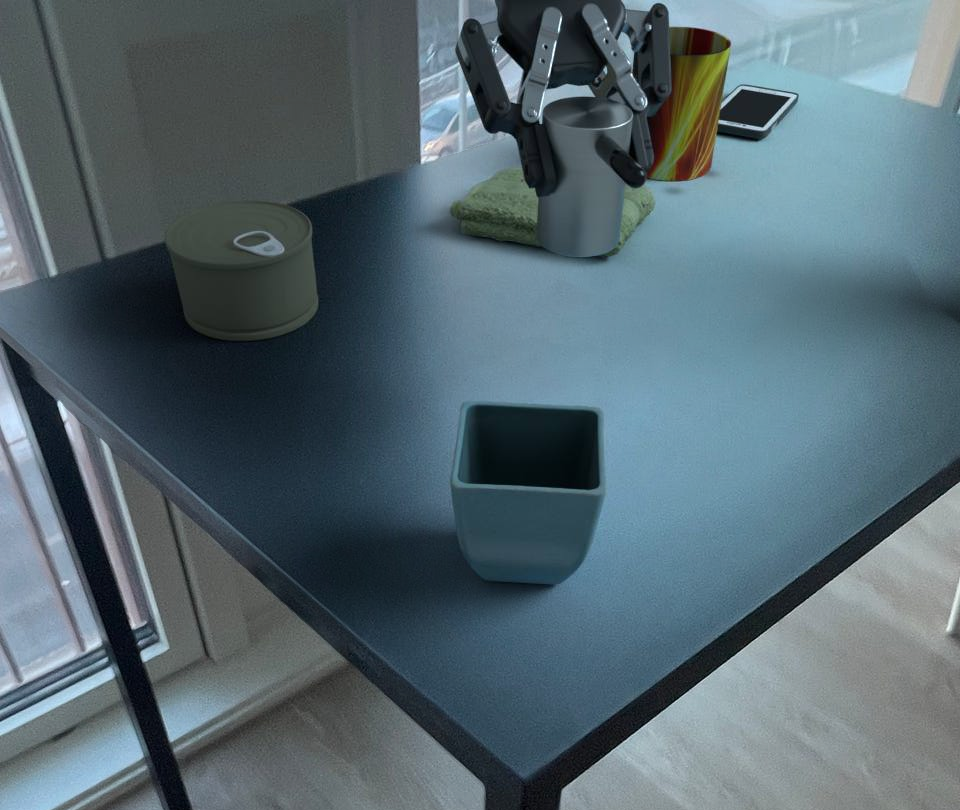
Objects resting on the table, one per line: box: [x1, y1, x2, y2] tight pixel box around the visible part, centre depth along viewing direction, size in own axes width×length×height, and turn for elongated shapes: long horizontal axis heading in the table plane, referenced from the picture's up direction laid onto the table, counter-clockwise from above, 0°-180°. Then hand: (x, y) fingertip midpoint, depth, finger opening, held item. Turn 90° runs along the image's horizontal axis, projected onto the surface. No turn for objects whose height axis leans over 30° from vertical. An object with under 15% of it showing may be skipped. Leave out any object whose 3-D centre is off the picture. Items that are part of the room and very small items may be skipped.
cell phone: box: [717, 83, 800, 140], centre depth 120 cm, size 8×15×1 cm, turn 152°
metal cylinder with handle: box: [537, 95, 647, 258], centre depth 63 cm, size 11×6×8 cm, turn 18°
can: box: [164, 199, 319, 342], centre depth 86 cm, size 12×12×7 cm
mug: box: [631, 26, 732, 182], centre depth 105 cm, size 10×14×12 cm
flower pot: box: [449, 400, 608, 585], centre depth 62 cm, size 9×9×9 cm
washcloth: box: [449, 166, 656, 258], centre depth 99 cm, size 13×18×3 cm
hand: (593, 184), depth 64 cm, fingers closed on metal cylinder with handle, 5 cm apart
